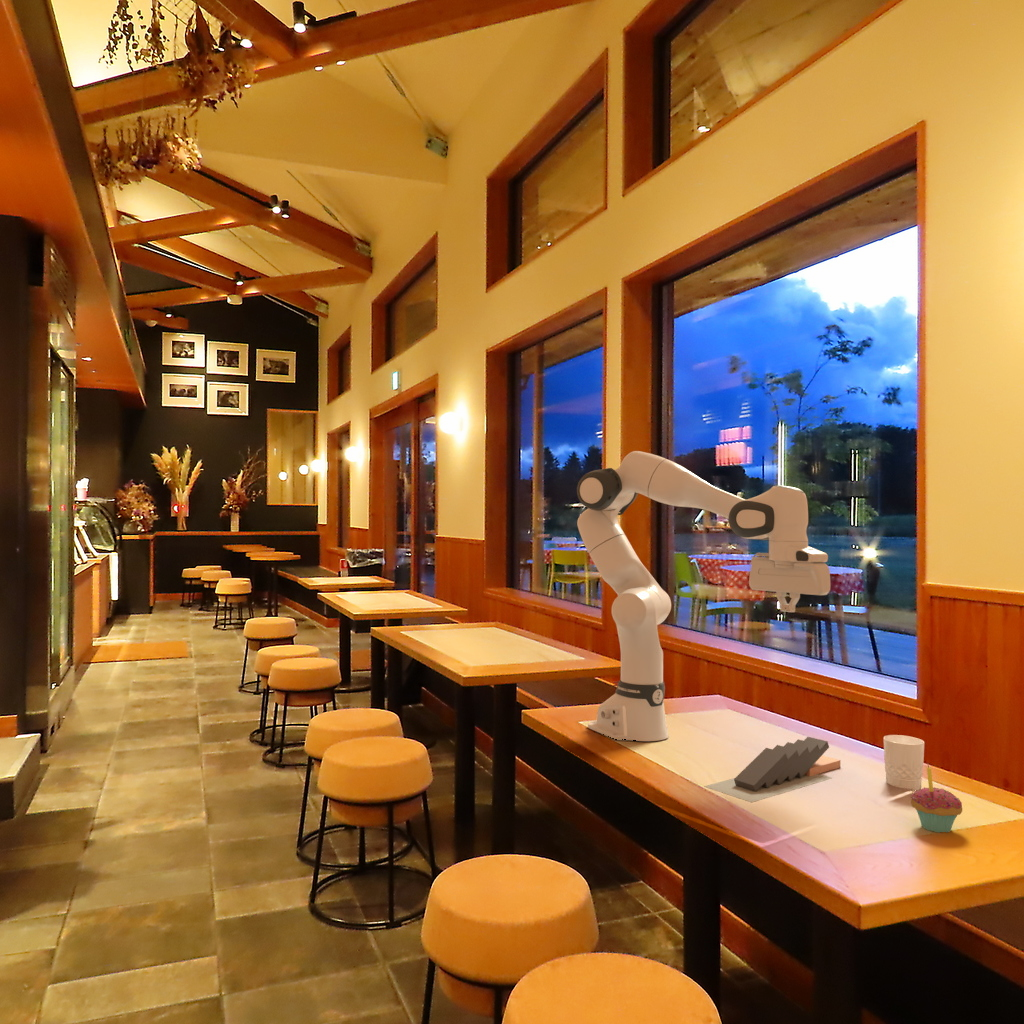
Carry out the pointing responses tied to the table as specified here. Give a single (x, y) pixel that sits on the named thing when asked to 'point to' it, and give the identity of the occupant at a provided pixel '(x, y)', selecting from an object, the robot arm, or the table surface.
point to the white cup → (904, 761)
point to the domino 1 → (760, 769)
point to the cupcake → (936, 807)
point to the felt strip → (762, 793)
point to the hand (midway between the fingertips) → (787, 611)
